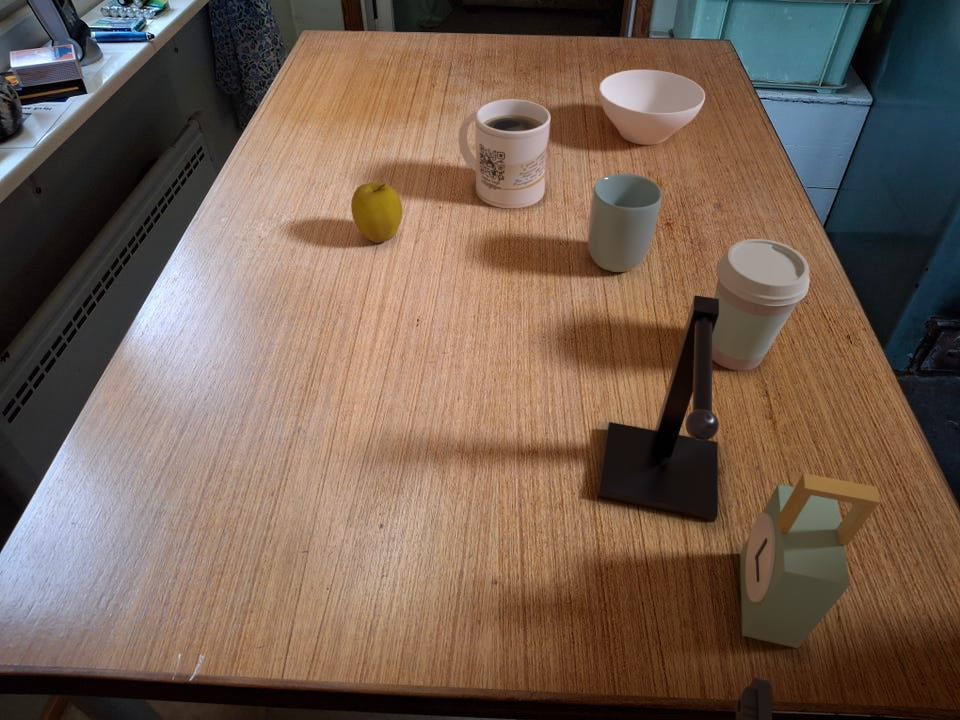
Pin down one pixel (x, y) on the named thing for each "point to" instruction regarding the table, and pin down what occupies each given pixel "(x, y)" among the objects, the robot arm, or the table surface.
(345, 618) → the table surface
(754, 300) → the coffee cup
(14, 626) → the table surface
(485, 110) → the mug
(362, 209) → the apple
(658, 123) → the bowl
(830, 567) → the green box with handle
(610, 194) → the cup
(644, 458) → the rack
